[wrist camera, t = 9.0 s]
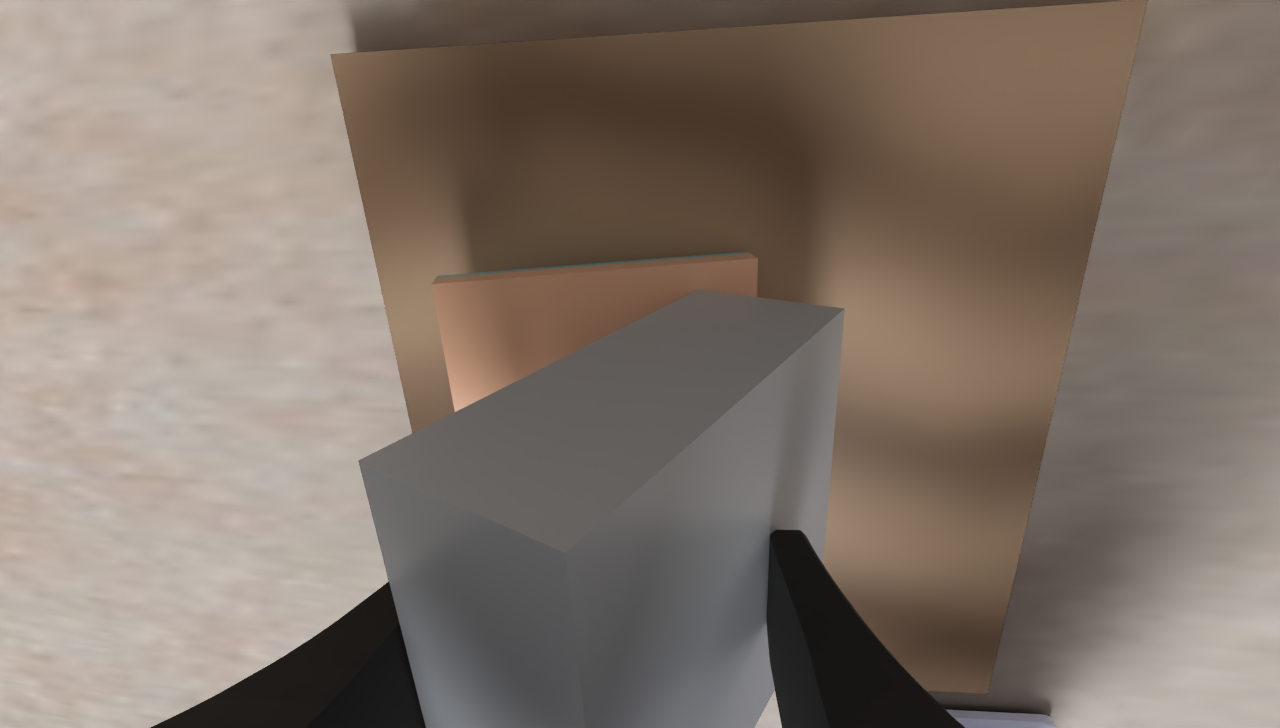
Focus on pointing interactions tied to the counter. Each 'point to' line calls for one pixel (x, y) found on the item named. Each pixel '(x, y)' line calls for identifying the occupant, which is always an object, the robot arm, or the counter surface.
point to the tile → (561, 311)
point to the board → (797, 242)
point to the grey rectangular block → (614, 522)
